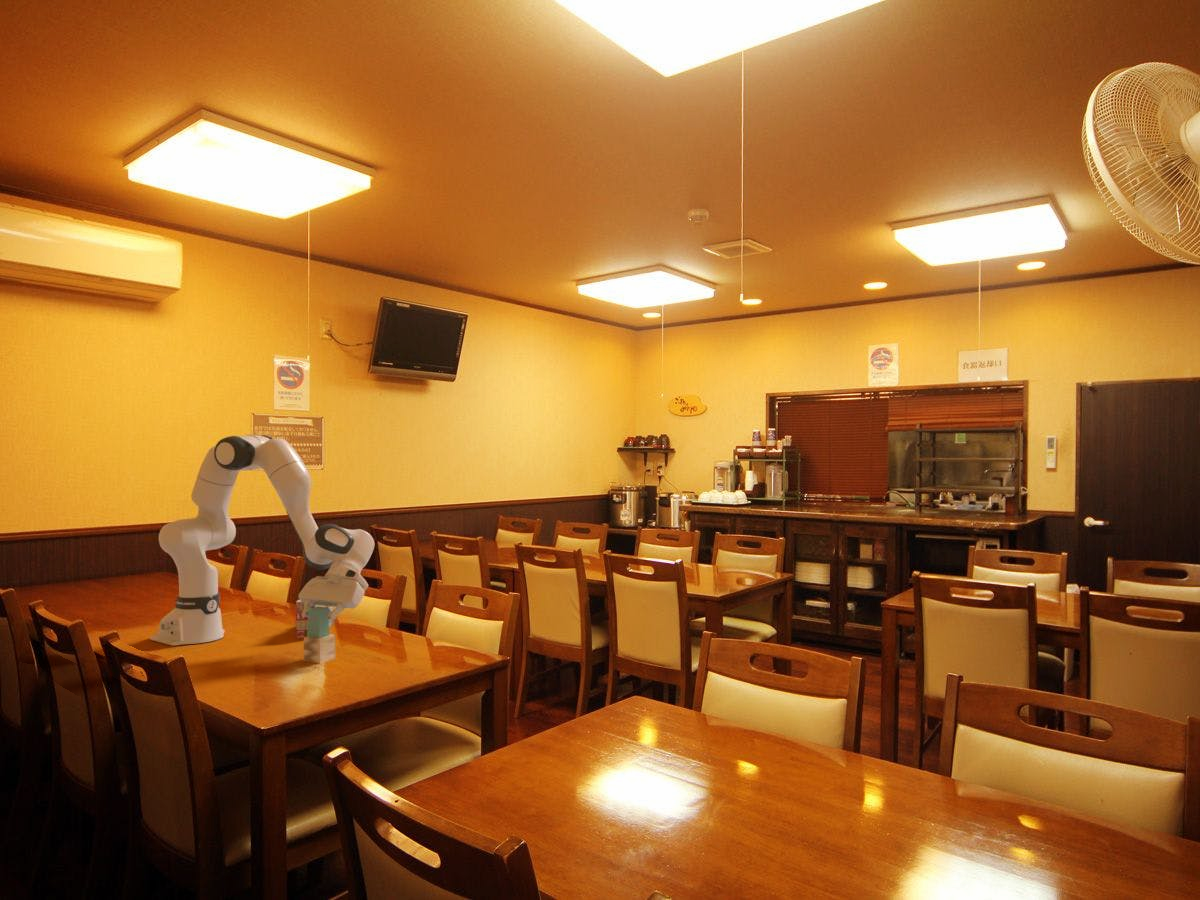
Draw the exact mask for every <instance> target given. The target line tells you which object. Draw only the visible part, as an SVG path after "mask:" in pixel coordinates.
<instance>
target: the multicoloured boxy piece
mask: <svg viewBox="0 0 1200 900" xmlns="http://www.w3.org/2000/svg"><path fill="white" fill-rule="evenodd" d="M318 606H319V607H329V612H330V611H333V610H334V607H331V606H320V605H313V606H312V607H310V609H311V608H314V607H318ZM303 610H304V603H303V602H302V601H301V600H300V599H297V600H296V602H295V639H296V638H304V637H307V636H308V617H305V616H303V615H302V612H303ZM333 624H334V620H332V619H329V627H331V626H332V625H333Z"/></svg>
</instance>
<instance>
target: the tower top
mask: <svg viewBox="0 0 1200 900" xmlns="http://www.w3.org/2000/svg"><path fill="white" fill-rule="evenodd" d="M333 647H335V648H336V634H334V633H333V634H331V633H329V635H328V636H324V637H321V638H313V637H308V636H307V637H304V639H303V651H304V650H310V651H318V652H321V651H324V650H327V649H330V648H333Z"/></svg>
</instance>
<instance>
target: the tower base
mask: <svg viewBox="0 0 1200 900" xmlns="http://www.w3.org/2000/svg"><path fill="white" fill-rule="evenodd" d="M332 659H336V646H335V647H333V648H330V649H327V650H324V651H321V652H318V651H310V650H304V649H303V662H306V661H307V662H308V663H315V664H323V663H325V662H327V661H331V660H332Z"/></svg>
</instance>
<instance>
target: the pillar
mask: <svg viewBox="0 0 1200 900" xmlns="http://www.w3.org/2000/svg"><path fill="white" fill-rule="evenodd" d="M328 614H329V607H319V606H318V607H314V608H311V609H308V637H313V638H321V637H324V636H328V635H329V634H330V626H329V618H328Z"/></svg>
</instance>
